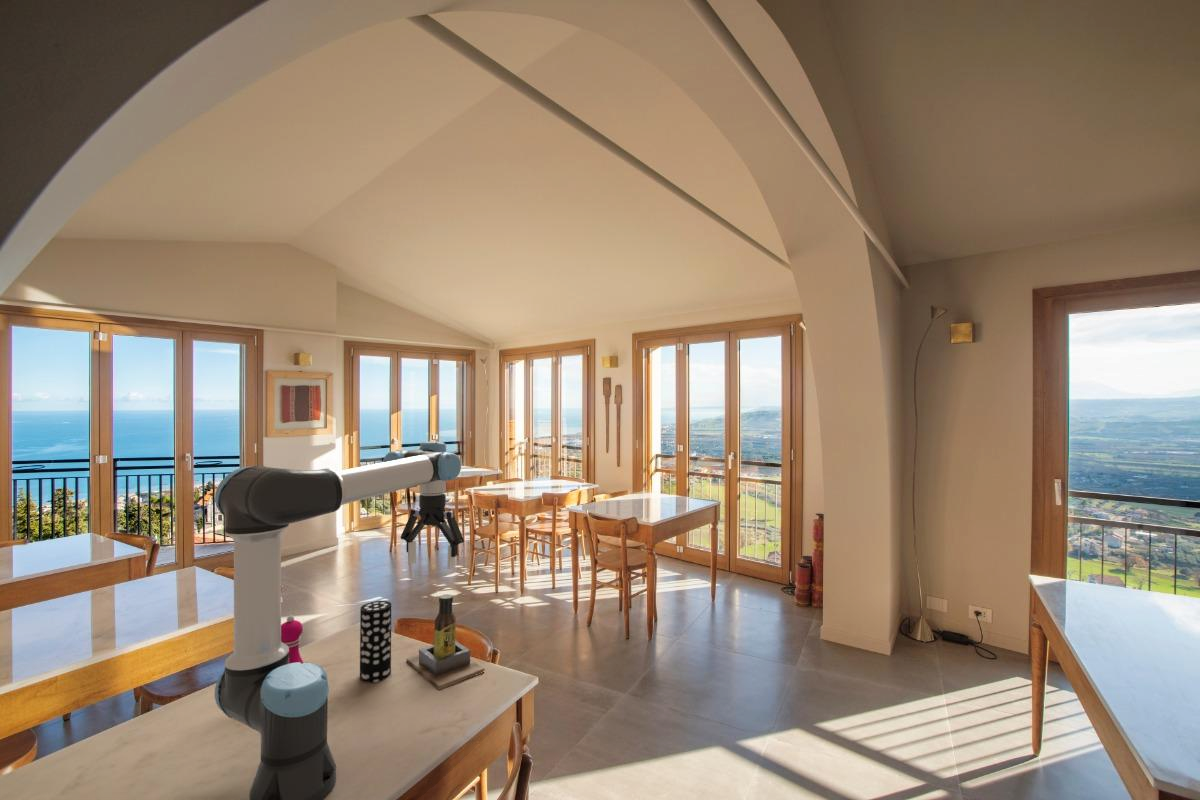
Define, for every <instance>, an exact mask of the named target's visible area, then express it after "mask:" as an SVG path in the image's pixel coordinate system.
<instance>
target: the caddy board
mask: <svg viewBox="0 0 1200 800" xmlns="http://www.w3.org/2000/svg"><path fill="white" fill-rule="evenodd" d="M406 663H407V664H409V665H410V666H411V667H412V668H413V669H414V670H416V671H417V672H418V673H419V674H421V676H423V677H424V678H425V679H426V680H427V681H429V683H431V684H432V685H433V686H435V687H436V688H437V689H438V690H442V689H444V688H447V687H450V686H452V685H454V684H457V683H460V682H462V681H465V680H467V678H468V679H470V678H472V677H471V676H473V677H475V676H477V675H476V674H478V675H480V674H479V673H481V672H483V671H484V672H485V668H484V667H482V666H481V665H480V664H478V663H477V662H476V661H474V660H472V659H471V658H470V664H468V665H466V666H463V667H460V668H457V669H455V670H452V671H449V672H447V673H444V674H441V675H438V676H436V677H435V676H434V675H433V674H432V673H431V672H429V671H428V670H427V669H426V668H424V667H423V666H422V665H421V664H420V663H419V653H418V654H415V655H413V656H409V657H406ZM484 672H483V673H484ZM481 674H482V673H481ZM474 675H475V676H474ZM469 677H470V678H469Z"/></svg>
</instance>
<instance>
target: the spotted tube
mask: <svg viewBox="0 0 1200 800" xmlns="http://www.w3.org/2000/svg"><path fill="white" fill-rule="evenodd" d="M359 612H360V615H359V616H360V618H359V619H360V620H359V621H360V623H359V626H360V627H359V631H360V632H359V634H360V636H359V638H360V639H359V680H360V681H361V682H363V683H369V684H370V683H378V682H382V681H384V680H385V679H387V678H389V677H390V676H391V674H392V673H391V672H392V602H391V601H386V600H376V601H369V602H368V603H365V604H363V605H361V606H360V610H359Z"/></svg>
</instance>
